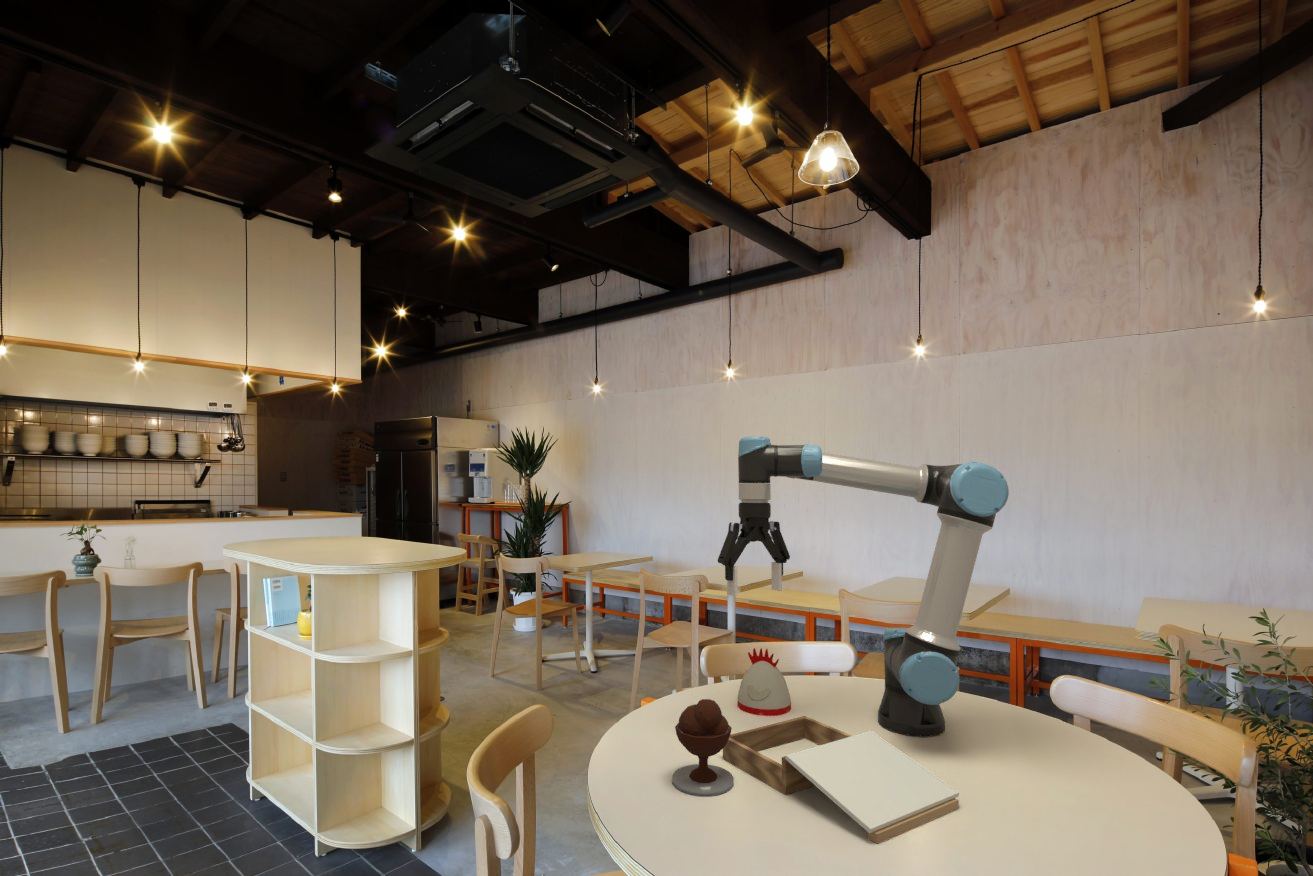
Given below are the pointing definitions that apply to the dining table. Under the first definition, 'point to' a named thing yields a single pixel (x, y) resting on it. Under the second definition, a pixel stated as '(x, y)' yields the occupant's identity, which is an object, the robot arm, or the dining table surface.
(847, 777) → the lid
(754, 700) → the kitchen timer
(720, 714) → the ice cream bowl
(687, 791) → the coaster
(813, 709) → the dining table surface
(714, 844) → the dining table surface
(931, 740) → the dining table surface
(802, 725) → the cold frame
